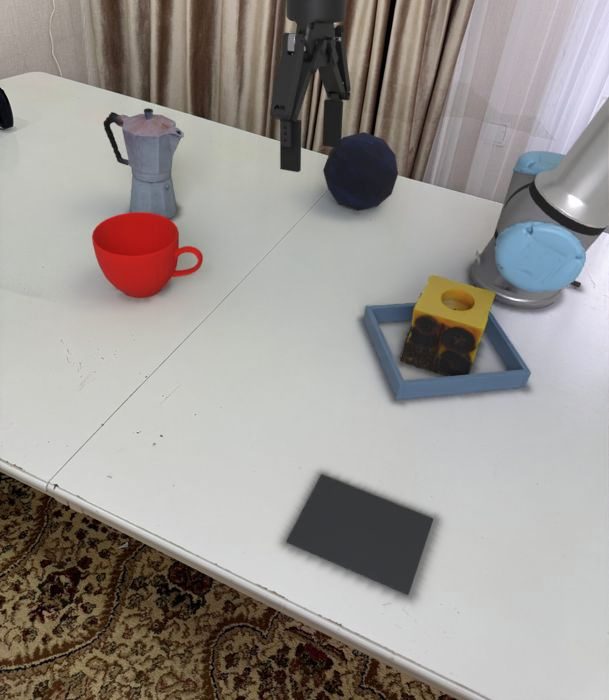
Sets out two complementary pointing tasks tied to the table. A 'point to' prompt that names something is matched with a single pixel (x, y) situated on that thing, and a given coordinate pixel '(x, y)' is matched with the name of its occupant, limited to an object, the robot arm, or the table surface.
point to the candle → (447, 326)
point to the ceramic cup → (140, 252)
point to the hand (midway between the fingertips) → (312, 157)
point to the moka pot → (148, 159)
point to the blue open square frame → (448, 384)
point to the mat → (362, 533)
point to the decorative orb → (361, 171)
